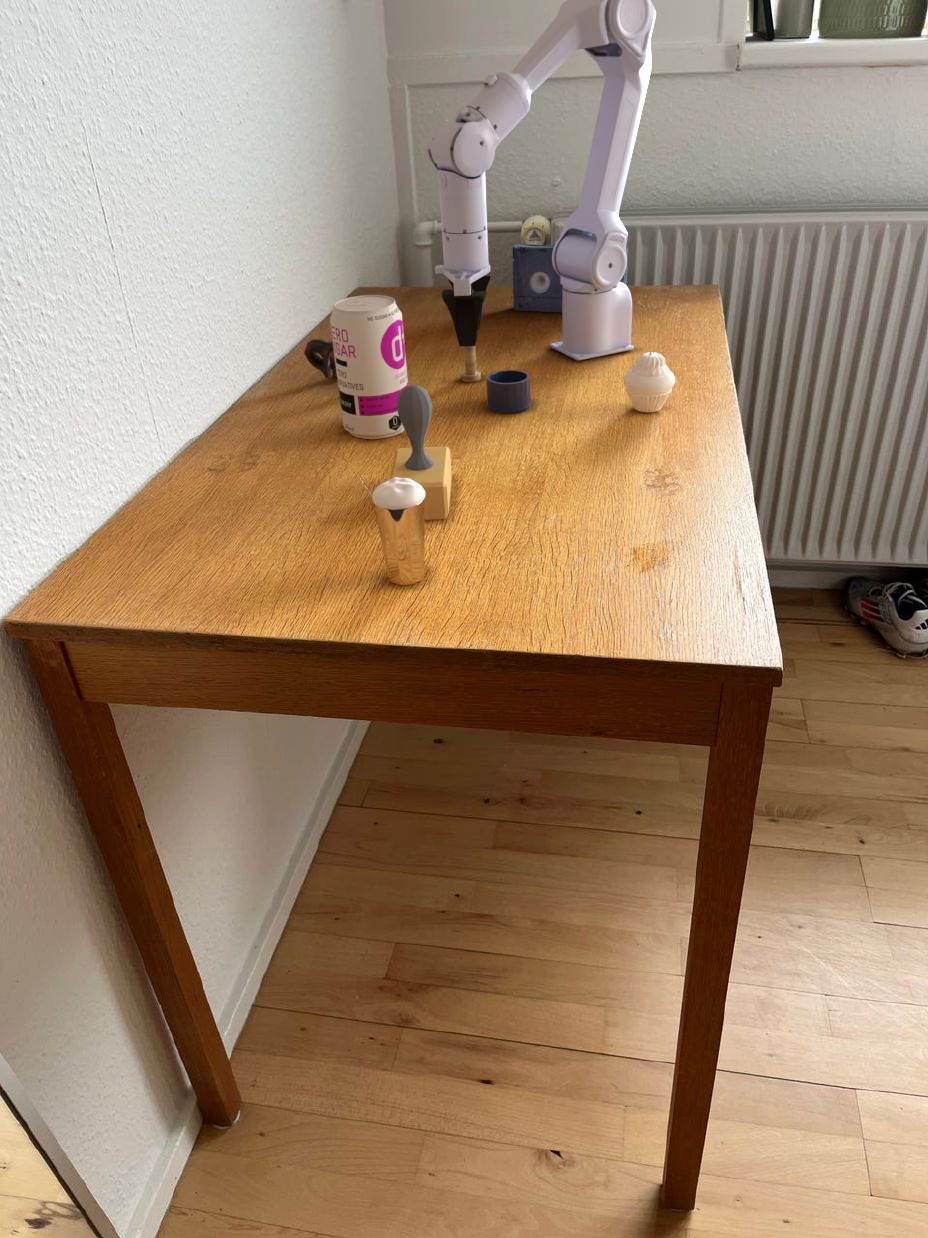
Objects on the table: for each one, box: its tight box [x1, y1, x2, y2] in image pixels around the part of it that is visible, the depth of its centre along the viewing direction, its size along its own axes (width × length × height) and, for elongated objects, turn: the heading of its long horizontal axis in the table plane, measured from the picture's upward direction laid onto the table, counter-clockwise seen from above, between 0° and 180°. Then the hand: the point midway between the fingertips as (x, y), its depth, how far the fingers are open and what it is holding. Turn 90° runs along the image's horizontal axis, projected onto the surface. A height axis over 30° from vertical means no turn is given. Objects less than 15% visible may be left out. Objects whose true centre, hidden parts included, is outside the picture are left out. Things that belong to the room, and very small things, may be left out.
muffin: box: [623, 351, 676, 414], centre depth 115 cm, size 6×6×7 cm
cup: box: [485, 369, 532, 415], centre depth 119 cm, size 5×5×4 cm
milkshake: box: [359, 475, 426, 586], centre depth 83 cm, size 4×5×10 cm
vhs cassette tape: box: [512, 243, 629, 313], centre depth 153 cm, size 18×3×10 cm, turn 69°
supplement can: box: [329, 294, 409, 440], centre depth 112 cm, size 8×8×15 cm
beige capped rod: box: [461, 345, 482, 383], centre depth 128 cm, size 3×3×8 cm
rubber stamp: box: [389, 384, 453, 521], centre depth 96 cm, size 10×6×12 cm, turn 179°
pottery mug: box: [303, 338, 337, 379], centre depth 129 cm, size 12×10×8 cm
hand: (469, 337), depth 127 cm, fingers open, 6 cm apart
